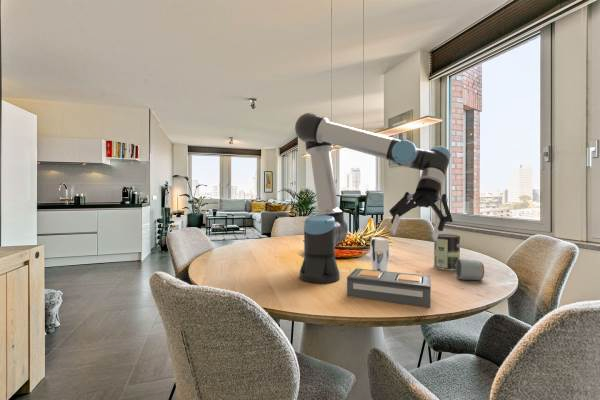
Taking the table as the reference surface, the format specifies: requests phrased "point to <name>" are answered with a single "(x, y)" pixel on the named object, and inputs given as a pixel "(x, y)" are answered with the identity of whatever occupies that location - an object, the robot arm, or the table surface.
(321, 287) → the table surface
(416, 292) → the switch console
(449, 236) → the coffee can
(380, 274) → the left switch
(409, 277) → the right switch
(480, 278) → the grey cylinder
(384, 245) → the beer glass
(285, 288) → the table surface
